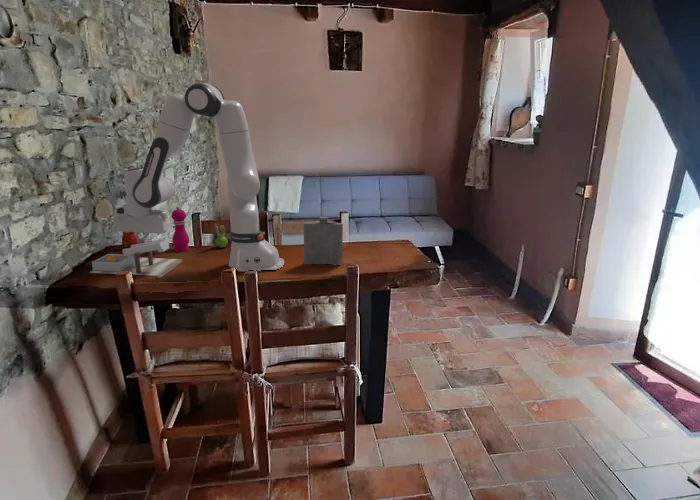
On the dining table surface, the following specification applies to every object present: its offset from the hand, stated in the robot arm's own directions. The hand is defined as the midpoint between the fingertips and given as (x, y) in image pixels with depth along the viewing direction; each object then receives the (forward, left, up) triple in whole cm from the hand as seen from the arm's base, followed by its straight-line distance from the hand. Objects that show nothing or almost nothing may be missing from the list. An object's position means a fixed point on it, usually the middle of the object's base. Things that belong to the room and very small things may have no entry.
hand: (142, 242), depth 180 cm
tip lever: (-7, +5, -1) cm, 9 cm away
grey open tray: (+7, +10, -7) cm, 14 cm away
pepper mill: (-7, -19, -9) cm, 22 cm away
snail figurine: (-23, -25, -9) cm, 35 cm away
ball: (+7, +10, -5) cm, 13 cm away
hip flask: (-72, -8, -9) cm, 73 cm away
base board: (-1, +7, -8) cm, 11 cm away
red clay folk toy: (+15, -17, -9) cm, 24 cm away
